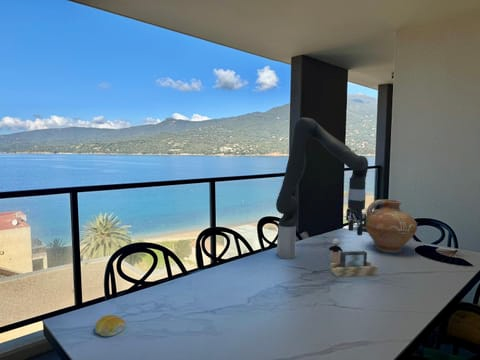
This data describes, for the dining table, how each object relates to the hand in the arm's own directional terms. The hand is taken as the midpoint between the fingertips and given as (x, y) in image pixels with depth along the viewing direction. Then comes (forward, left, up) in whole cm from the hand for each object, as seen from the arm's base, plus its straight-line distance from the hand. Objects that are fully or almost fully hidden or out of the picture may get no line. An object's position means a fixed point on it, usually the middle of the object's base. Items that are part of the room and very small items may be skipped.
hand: (355, 232), depth 150 cm
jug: (+38, +32, -20) cm, 53 cm away
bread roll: (-100, -37, -20) cm, 109 cm away
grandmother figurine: (-3, +14, -19) cm, 24 cm away
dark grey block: (0, 0, -17) cm, 17 cm away
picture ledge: (0, 0, -19) cm, 19 cm away
